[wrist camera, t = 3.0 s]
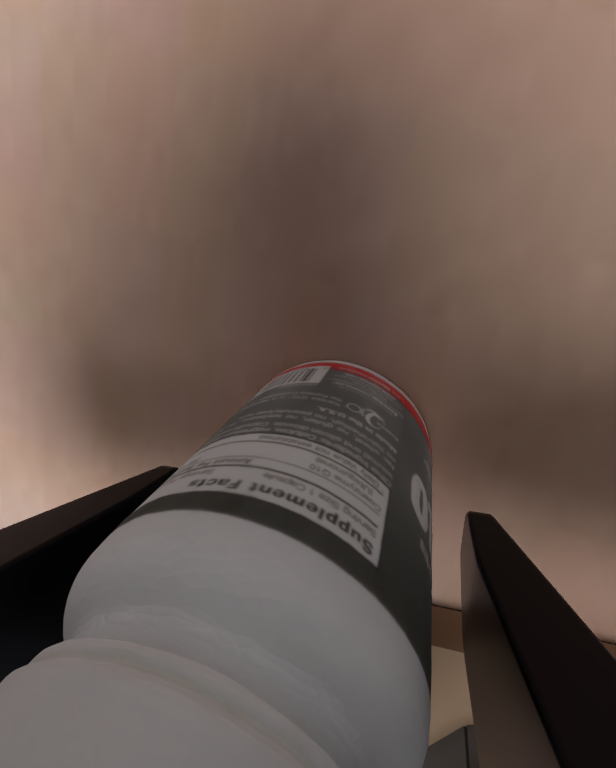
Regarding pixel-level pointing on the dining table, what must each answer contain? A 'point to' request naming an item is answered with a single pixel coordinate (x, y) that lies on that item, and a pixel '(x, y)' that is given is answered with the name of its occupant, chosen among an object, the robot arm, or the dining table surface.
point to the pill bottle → (254, 600)
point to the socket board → (452, 696)
